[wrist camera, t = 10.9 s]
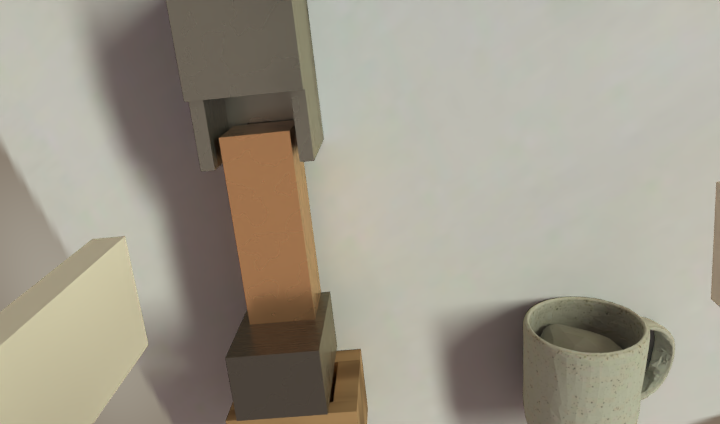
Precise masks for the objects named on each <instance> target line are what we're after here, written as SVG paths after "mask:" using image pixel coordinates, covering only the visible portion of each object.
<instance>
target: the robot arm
mask: <svg viewBox="0 0 720 424" xmlns="http://www.w3.org/2000/svg"><path fill="white" fill-rule="evenodd" d="M711 299H712V300H713V301H714V302H715V303H716V304H717V305H718V306H720V182H716V201H715V223H714V244H713V266H712V287H711ZM147 346H148V340H147V336H146V331H145V326H144V322H143V317H142V313H141V308H140V303H139V299H138V294H137V289H136V285H135V280H134V276H133V271H132V266H131V262H130V257H129V253H128V248H127V243H126V239H125V236H121V237H111V238H100V239H92V240H91V241H89V242H88V243H87V244H86V245H84V246H83V247H82V248H81V249H79V250H78V251H77V252H75V253H74V254H73V255H72V256H70V257H69V258H68V259H67V260H65V261H64V262H63V263H62V264H60V265H59V266H58V267H57V268H55V269H54V270H53V271H51V272H50V273H49V274H48V275H47V276H45V277H44V278H42V279H41V280H40V281H39V282H37V283H36V284H35V285H34V286H32V287H31V288H30V289H29V290H28V291H26V292H25V293H23V294H22V295H21V296H20V297H18V298H17V299H16V300H15V301H13V302H12V303H11V304H10V305H8V306H7V307H6V308H5V309H3V310H2V311H1V312H0V424H93V423H94V422H95V420H96V419H97V418H98V416H99V415H100V413H101V412H102V410H103V409H104V408H105V406H106V405H107V403H108V402H109V400H110V399H111V398H112V396H113V395H114V393H115V392H116V390H117V389H118V388H119V386H120V385H121V383H122V382H123V380H124V379H125V378H126V376H127V375H128V373H129V372H130V370H131V369H132V368H133V366H134V365H135V363H136V362H137V360H138V359H139V358H140V356H141V355H142V353H143V352H144V350H145V349H146V348H147Z"/></svg>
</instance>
